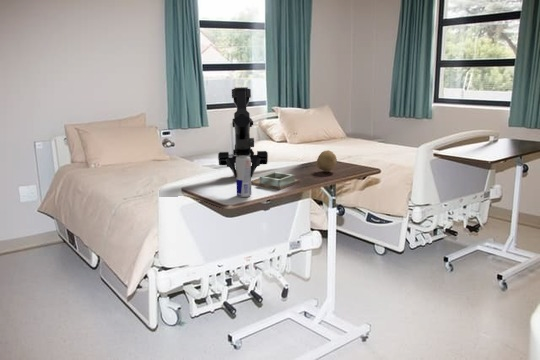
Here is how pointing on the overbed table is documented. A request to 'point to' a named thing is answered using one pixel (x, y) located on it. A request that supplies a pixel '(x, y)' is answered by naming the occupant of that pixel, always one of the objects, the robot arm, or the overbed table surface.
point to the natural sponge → (326, 161)
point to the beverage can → (243, 176)
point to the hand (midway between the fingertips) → (243, 177)
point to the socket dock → (275, 180)
